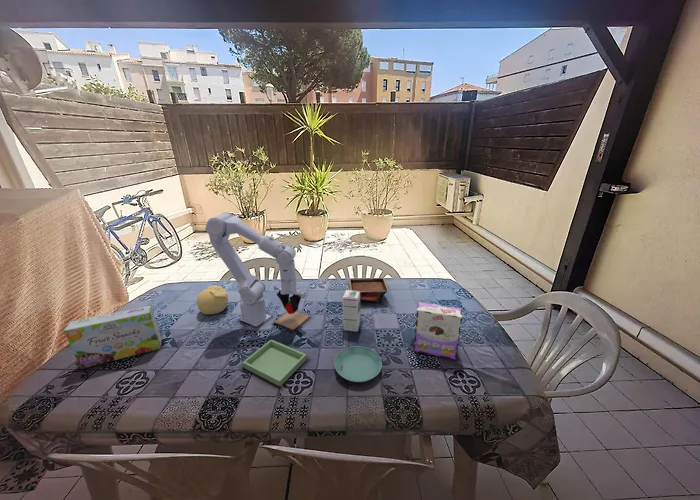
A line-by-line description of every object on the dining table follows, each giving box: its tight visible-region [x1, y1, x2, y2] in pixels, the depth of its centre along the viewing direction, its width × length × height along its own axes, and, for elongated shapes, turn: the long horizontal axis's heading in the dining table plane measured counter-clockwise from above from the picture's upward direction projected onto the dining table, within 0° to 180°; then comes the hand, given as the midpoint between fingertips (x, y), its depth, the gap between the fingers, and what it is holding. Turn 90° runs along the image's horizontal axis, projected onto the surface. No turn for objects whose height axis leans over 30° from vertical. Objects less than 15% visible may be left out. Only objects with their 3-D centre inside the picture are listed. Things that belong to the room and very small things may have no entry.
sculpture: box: [196, 285, 229, 316], centre depth 114 cm, size 12×12×11 cm
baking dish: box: [347, 277, 390, 304], centre depth 124 cm, size 14×18×10 cm
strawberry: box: [285, 299, 295, 314], centre depth 107 cm, size 4×4×5 cm
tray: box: [241, 339, 307, 388], centre depth 86 cm, size 15×12×2 cm
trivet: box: [273, 311, 311, 331], centre depth 109 cm, size 10×10×1 cm
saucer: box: [333, 345, 383, 384], centre depth 84 cm, size 15×15×3 cm
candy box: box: [412, 301, 463, 360], centre depth 90 cm, size 14×6×16 cm, turn 71°
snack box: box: [63, 305, 163, 370], centre depth 88 cm, size 21×6×15 cm, turn 117°
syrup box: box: [341, 289, 361, 333], centre depth 102 cm, size 6×6×14 cm
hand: (291, 309), depth 107 cm, fingers closed on strawberry, 4 cm apart
